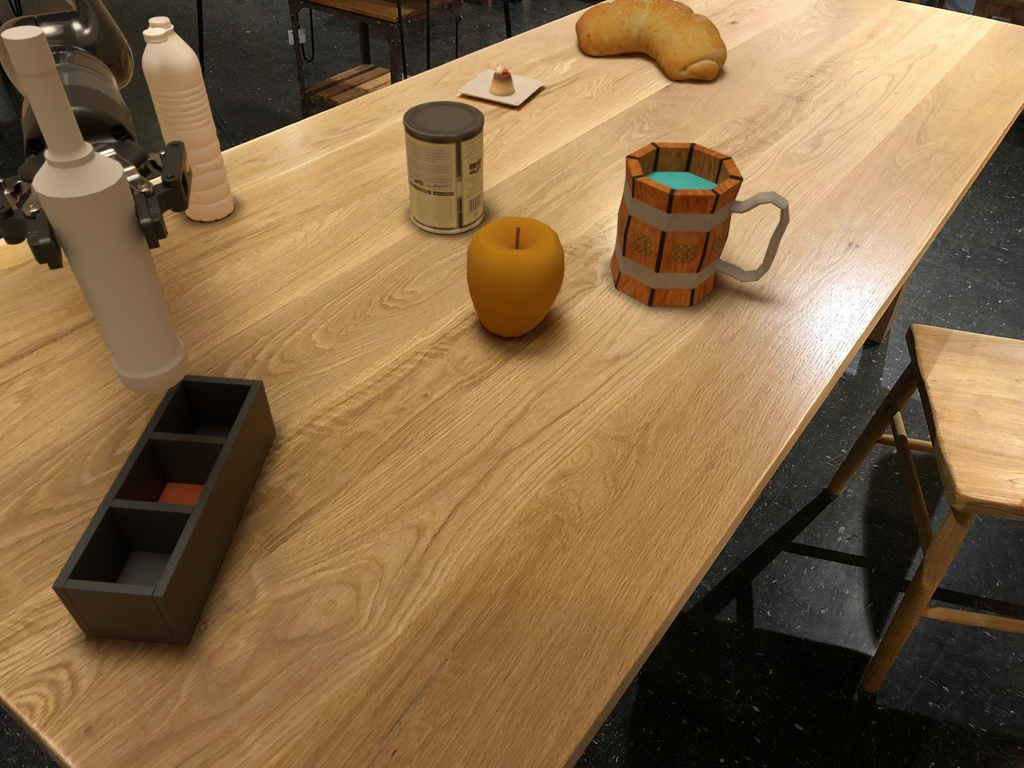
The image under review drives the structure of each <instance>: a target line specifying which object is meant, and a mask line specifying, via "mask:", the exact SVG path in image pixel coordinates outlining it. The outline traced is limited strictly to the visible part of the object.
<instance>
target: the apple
mask: <svg viewBox="0 0 1024 768" xmlns="http://www.w3.org/2000/svg"><path fill="white" fill-rule="evenodd" d="M565 265H566V264H565V251H564V248H563V245H562V243H561V240H560V237H559V235H558V233H557V232H556V231H555V230H554V229H552V228H551V226H550V225H548V224H547V223H545V222H543V221H541V220H538V219H536V218H532V217H526V216H506V217H502V218H499V219H496V220H492V221H490V222H488V223H487V224H485V225H484V226H482V227H481V228H479V229H477V230H476V231H475V232H474V234H473V236H472V237H471V239H470V242H469V244H468V246H467V251H466V283H467V288H468V293H469V297H470V299H471V303H472V305H473V308H474V310H475V312H476V315H477V317H478V319H479V321H480V323H481V324H482V325H483V326H484V327H485V328H486V330H488V332H489V333H491V334H493V335H497V336H499V337H502V338H510V337H511V338H513V337H521V336H524V335H526V334H528V333H529V332H531V331H532V330H534V328H536V327H537V326H538V325H539V324H540V323H541V322H542V321H543V320H544V318H545V317H546V315H547V314H548V312H549V310H550V309H551V308H552V306H553V305H554V303H555V301H556V300H557V297H558V296H559V294H560V291H561V289H562V286H563V282H564V279H565V272H566V271H565V270H566V268H565Z"/></svg>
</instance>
